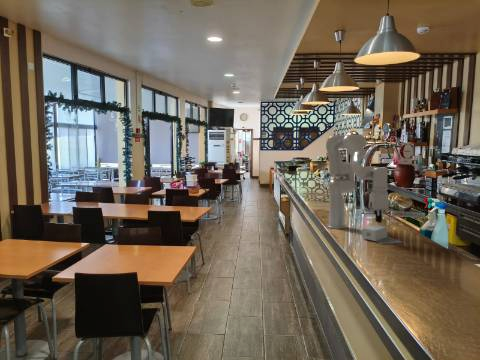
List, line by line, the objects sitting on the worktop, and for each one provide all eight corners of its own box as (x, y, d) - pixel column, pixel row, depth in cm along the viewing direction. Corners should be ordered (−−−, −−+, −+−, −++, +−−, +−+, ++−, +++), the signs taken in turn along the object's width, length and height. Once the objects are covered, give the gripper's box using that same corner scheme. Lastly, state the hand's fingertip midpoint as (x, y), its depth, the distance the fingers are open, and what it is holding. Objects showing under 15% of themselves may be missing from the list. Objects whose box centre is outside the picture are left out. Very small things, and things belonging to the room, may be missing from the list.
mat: (365, 237, 216) (365, 236, 216) (384, 236, 219) (384, 235, 219) (382, 244, 201) (382, 243, 201) (402, 243, 204) (402, 242, 204)
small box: (374, 241, 206) (387, 237, 214) (375, 230, 205) (387, 226, 213) (362, 238, 212) (374, 235, 220) (362, 227, 211) (375, 224, 219)
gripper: (387, 188, 212) (386, 220, 213) (363, 189, 208) (362, 221, 210) (395, 190, 204) (394, 222, 206) (371, 190, 201) (370, 224, 203)
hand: (378, 222), depth 208 cm, fingers closed
